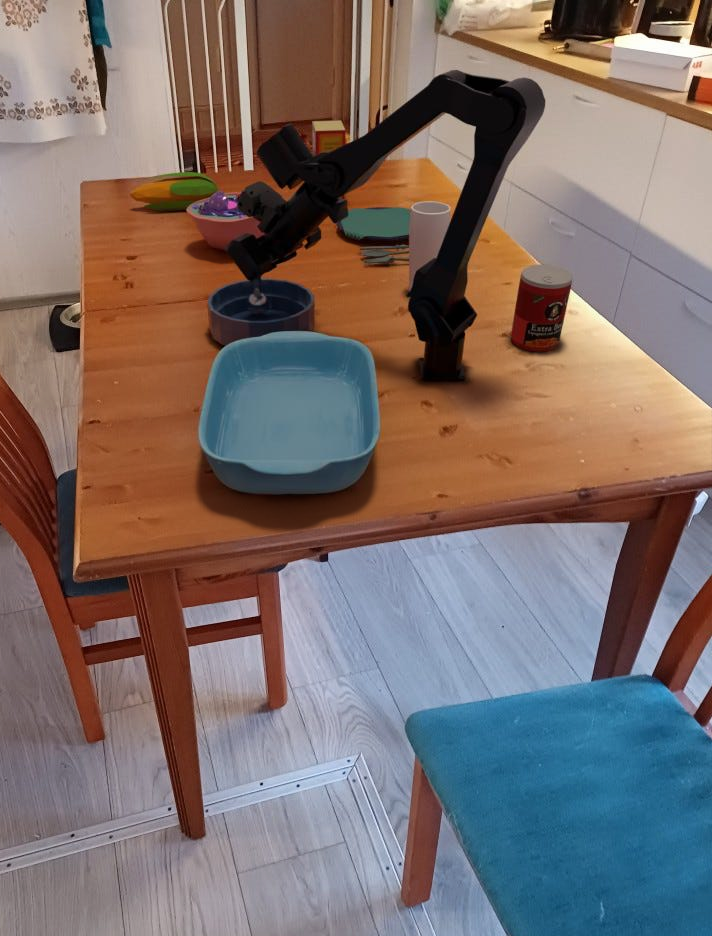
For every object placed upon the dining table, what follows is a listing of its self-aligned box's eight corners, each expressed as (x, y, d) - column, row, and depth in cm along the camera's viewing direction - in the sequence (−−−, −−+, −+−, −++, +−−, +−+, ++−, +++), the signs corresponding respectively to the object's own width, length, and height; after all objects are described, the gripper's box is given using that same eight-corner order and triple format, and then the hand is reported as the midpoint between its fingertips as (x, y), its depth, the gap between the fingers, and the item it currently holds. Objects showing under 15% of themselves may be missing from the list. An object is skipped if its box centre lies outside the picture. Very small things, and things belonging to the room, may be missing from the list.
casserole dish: (222, 370, 118) (218, 326, 114) (368, 370, 118) (370, 325, 113) (192, 522, 90) (185, 471, 86) (384, 521, 90) (387, 471, 85)
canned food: (524, 355, 121) (536, 286, 114) (501, 333, 127) (511, 267, 120) (568, 349, 123) (583, 280, 115) (543, 327, 128) (556, 261, 121)
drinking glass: (440, 302, 137) (450, 214, 127) (402, 300, 138) (408, 212, 128) (443, 287, 142) (452, 202, 132) (406, 285, 143) (412, 200, 133)
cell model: (301, 253, 155) (300, 194, 148) (204, 269, 150) (198, 208, 143) (272, 227, 167) (270, 171, 160) (182, 240, 162) (175, 183, 155)
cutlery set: (421, 214, 173) (422, 203, 171) (447, 265, 150) (449, 253, 148) (332, 217, 172) (332, 206, 171) (345, 268, 149) (345, 256, 148)
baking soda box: (312, 193, 185) (312, 119, 175) (340, 192, 186) (340, 118, 175) (316, 206, 178) (315, 129, 168) (344, 205, 178) (345, 128, 168)
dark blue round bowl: (313, 355, 122) (313, 322, 118) (204, 355, 122) (201, 322, 119) (315, 309, 135) (314, 278, 132) (216, 309, 135) (213, 278, 132)
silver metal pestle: (271, 317, 130) (268, 252, 123) (248, 320, 129) (244, 254, 122) (267, 308, 133) (264, 243, 126) (245, 311, 132) (241, 246, 125)
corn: (217, 174, 171) (125, 179, 169) (220, 210, 176) (131, 215, 174) (215, 167, 177) (127, 172, 175) (218, 203, 182) (132, 207, 180)
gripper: (304, 152, 120) (251, 214, 132) (231, 184, 108) (180, 248, 120) (347, 213, 122) (291, 268, 134) (279, 251, 110) (225, 308, 122)
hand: (248, 272), depth 127 cm, fingers closed on silver metal pestle, 2 cm apart
